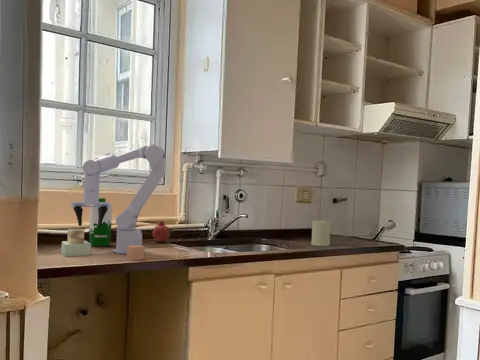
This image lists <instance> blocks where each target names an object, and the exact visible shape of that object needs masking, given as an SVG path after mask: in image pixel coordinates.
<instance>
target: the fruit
mask: <svg viewBox="0 0 480 360" xmlns="http://www.w3.org/2000/svg"><path fill="white" fill-rule="evenodd" d="M170 231H171V230H170V228H169V227H168V226H167V225H165V223H164V221H163V220H160V221H159V223H158V224H157V225H155V226H154V227H153V230H152V237H153V239H154V240H155V241H157V242H159V243H162V242H166V241H167V240H168V239H169V238H170V236H171V232H170Z"/></svg>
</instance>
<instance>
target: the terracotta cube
mask: <svg viewBox="0 0 480 360" xmlns="http://www.w3.org/2000/svg"><path fill="white" fill-rule="evenodd" d="M145 247H146V246H144V245H142V246H141V245H127V253H126V259H127V260H129V259H130V261H131V260H132V261H143V260H142V259H144V260H145Z"/></svg>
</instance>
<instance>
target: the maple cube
mask: <svg viewBox="0 0 480 360" xmlns="http://www.w3.org/2000/svg"><path fill="white" fill-rule="evenodd" d="M84 241H85V230H84V229H82V228H70V229H69V228H68V229H67V242H68V243H70V244H75V243H84Z"/></svg>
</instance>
